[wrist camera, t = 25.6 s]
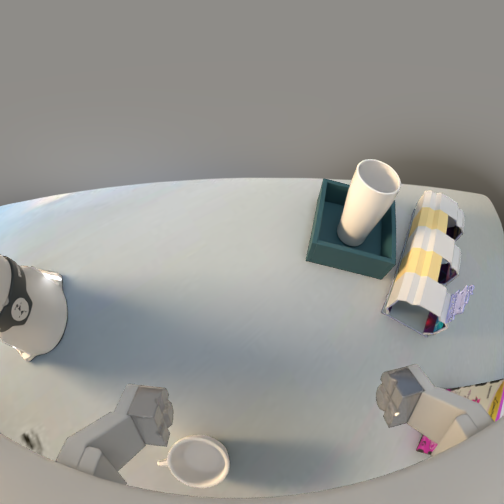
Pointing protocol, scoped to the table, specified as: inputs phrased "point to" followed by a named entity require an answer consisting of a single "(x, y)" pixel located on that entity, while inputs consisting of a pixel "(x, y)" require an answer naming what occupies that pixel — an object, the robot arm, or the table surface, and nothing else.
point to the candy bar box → (487, 394)
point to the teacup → (198, 461)
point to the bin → (341, 255)
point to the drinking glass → (367, 200)
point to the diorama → (429, 268)
